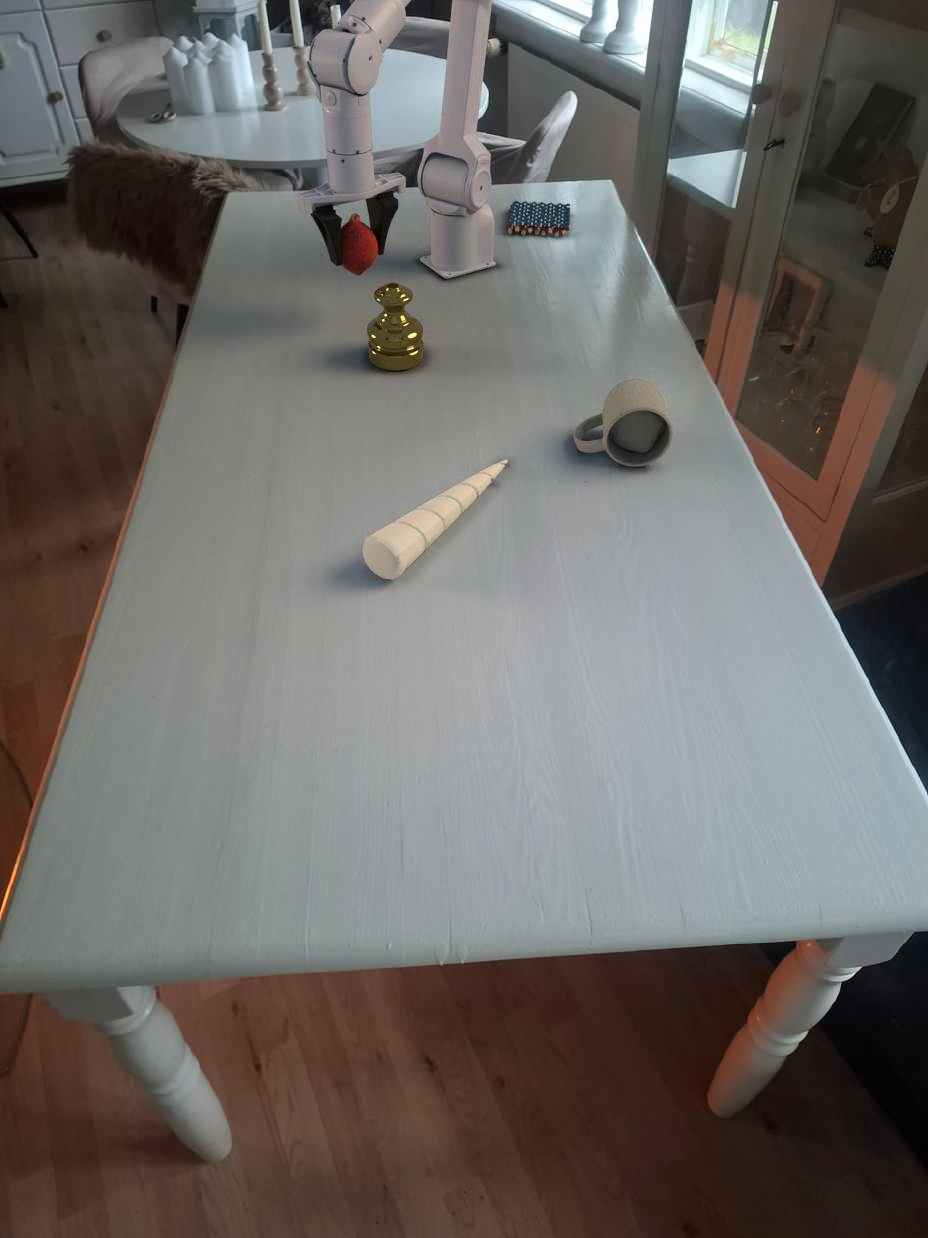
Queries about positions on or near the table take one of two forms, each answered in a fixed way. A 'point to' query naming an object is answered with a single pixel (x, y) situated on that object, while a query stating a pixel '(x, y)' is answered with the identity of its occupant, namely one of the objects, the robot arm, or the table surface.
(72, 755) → the table surface
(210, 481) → the table surface
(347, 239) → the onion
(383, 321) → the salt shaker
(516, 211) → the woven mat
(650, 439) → the ceramic mug
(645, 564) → the table surface
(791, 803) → the table surface
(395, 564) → the unicorn horn
